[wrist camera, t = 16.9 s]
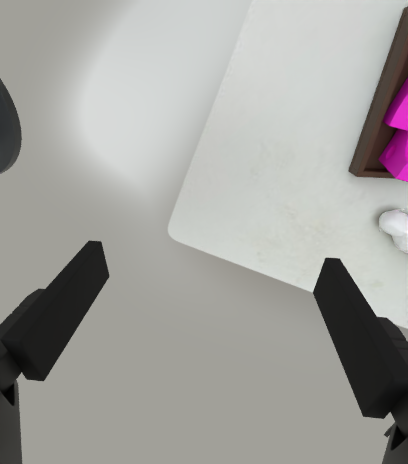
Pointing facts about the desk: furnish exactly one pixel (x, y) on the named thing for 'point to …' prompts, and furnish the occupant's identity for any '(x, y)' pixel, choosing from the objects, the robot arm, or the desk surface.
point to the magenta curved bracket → (397, 136)
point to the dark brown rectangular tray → (382, 109)
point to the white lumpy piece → (396, 227)
